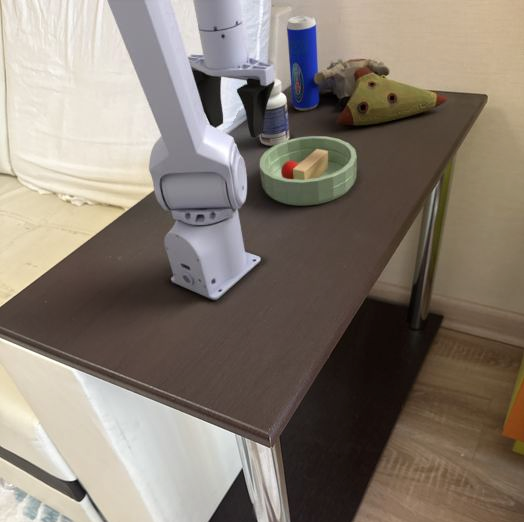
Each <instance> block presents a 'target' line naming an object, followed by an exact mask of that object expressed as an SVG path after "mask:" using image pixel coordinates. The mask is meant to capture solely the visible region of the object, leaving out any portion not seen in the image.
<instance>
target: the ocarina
mask: <svg viewBox="0 0 524 522" xmlns="http://www.w3.org/2000/svg"><path fill="white" fill-rule="evenodd" d="M354 78H355V89H354V92H353V94H352V96H351V98H350V100H349V101H348V103H347V105H346V107H345V109H342V111H341V113H340V114H339V116H338V118H337V119H336V122H337V124H339V125H345V126H372V125H377V124H382V123H386V122H390V121H391V122H392V121H396V120H399V119H402V118H407V117H410V116H414V115H418V114H421V113H424V112H426V111H430V110H433V109H435V108H437V107H439V106H441V105H443V104H444V103H446V101H447V100H448V97H447V96H445V95H442V94H439V93H435V92H433V91H431V90H427V89H424V88H421V87H416V86H413V85H410V84H408V83H407V84H406V83H403V82H400V81H396V80H392V79H389V78H387V76H384V75H382V76H378V75H376V74H375V73H373V72H372V71H370V70H369V69H368V68H365V67H363V68H359V69H357V70H356V71H355V73H354Z"/></svg>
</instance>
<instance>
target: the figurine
mask: <svg viewBox="0 0 524 522" xmlns="http://www.w3.org/2000/svg"><path fill="white" fill-rule="evenodd" d="M363 67H365V68H368V69H369V70H370V71H372V72H373V73H375V74H376V75H378V76H382V75H384V76H386V77H387V76H389V75H390V71H391V70H390V68H389V67H388V66H387V65H385V62H384V61H379V62H378V60H376V59H375V60H374V59H370V58H368V59H367V58H352V59H348V60H346V61H343V60H342V59H341V58H339V59H338V60H337V61H331V62H330V65H329V66H327V67H326V69H324V70H321V71H318V73H316V74H315V76H314V81H315V83H316V84H318V87H319V94H321V93H324V92H325V91H331V92H332V94H333V95H336V97H337V98H338V99H339V100H338V107H339V108H340V109H342V110H344V109H345V107H346V105H347V103H348V101H349V100H350V98H351V96H352V94H353V92H354V89H355V78H354V73H355V71H356V70H357V69H359V68H363Z"/></svg>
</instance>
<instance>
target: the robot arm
mask: <svg viewBox="0 0 524 522" xmlns="http://www.w3.org/2000/svg"><path fill="white" fill-rule="evenodd" d="M106 1H107V3H108V4H107V5H108V6H109V9H110V11H111V13H112V16H113V18H114V21H115V23H116V26H117V28H118V31H119V34H120V36H121V39H122V41H123V43H124V46H125V48H126V51H127V54H128V56H129V58H130V61H131V63H132V66H133V68H134V71H135V74H136V76H137V78H138V81H139V83H140V85H141V88H142V91H143V93H144V96H145V98H146V101H147V103H148V106H149V108H150V111H151V113H152V116H153V118H154V121H155V123H156V126H157V129H158V130H159V134H160V136H159V137H158V139H157V140H156V142H155V143H154V144H153V146H152V149H151V152H150V156H149V162H148V171H149V174H150V176H151V181H152V185H153V186H152V187H153V191H154V195H155V199H156V201H157V202H158V204H159V205H160V206H161V207H162V209H163V210H164V211H166V212H170V213H171V216H172V219H173V220H175V222H174V224H173V226H172V227H171V228H170V230H169V231H168V232H167V233H166V234H165V235H164V239H163V243H164V244H163V246H164V249H165V252H166V255H167V259H168V262H169V265H170V270H171V272H172V276H171V278H170V280H171V283H173V284H176V285H178V286H180V287H182V288H185V289H187V290H190V291H191V292H195V294H196V293H197V294H199V295H201V296H203V297H206V298H208V299H210V300H213V301H216V300H218V299H219V298H221V297H222V296H223V295H224V294H225V293H226V292H228V291H229V290H230V289H231V288H232V287H233V286H234V285H235V284H237V283H238V282H239V281H240V280H241V279H242V278H243V277H244V276H245V275H246V274H248V273H249V272H250V271H252V269H254V267H255V266H257V265H258V264H259V263H260V262H261V261H262V260H261V256H258V255H255V254H252V253H250V252H247V251H246V250H245V249H246V248H245V243H244V238H243V232H242V226H241V222H240V213H239V210H240V209H241V208H242V206H243V205H244V204H245V202H246V199H247V195H248V177H247V167H246V162H245V159H244V157H243V156H242V155H241V153H240V151H239V149H238V146H237V143H235V138H234V137H233V136H232V135H230V134H228V133H227V132H224V131H223V130H221V129H218V128H219V127H220V126H221V125H223V124H224V113H223V111H224V110H223V104H222V103H223V102H222V78H227V79H233V80H240V81H246V83H245V84H243V85H242V86H240V87H238V88H236V93H237V95H238V97H239V98H240V101H241V103H242V106H243V109H244V112H245V116H246V121H247V128H248V131H249V135H250V137H251V138H255V139H256V138H257V137H259V135H260V134H261V133H263V128H264V119H265V113H266V108H267V104H268V100H269V97H270V94H271V91H272V89H273V87H274V84H275V79H276V74H275V65H274V64H271V63H267V62H263V61H261V60H259V59H256V58H254V57H251V56H250V52H248V51H247V46H246V38H245V31H244V30H245V29H244V22H243V14H242V7H241V6H242V5H241V0H192V1H193V6H194V12H195V19H196V22H197V28H198V34H199V39H200V45H201V52H202V54H189V55H188V53H187V49H186V47H185V44H184V39H183V36H182V33H181V30H180V25H179V23H178V20H177V15H176V13H175V9H174V7H173V2H172V0H106Z"/></svg>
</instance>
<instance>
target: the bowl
mask: <svg viewBox="0 0 524 522" xmlns="http://www.w3.org/2000/svg"><path fill="white" fill-rule="evenodd" d="M316 149H320V150H325V151H328V170H327V171H325V172H324V173H323V174H322V175H321V176H320V177H319V178H314V179H304V180H297V179H287V178H283V176H282V173H281V169H282V166H283V165H284V164H285V163H286V162H288V161H294V162H296V163H298V164H300V163H301V162H302V161H303V160H304V159H306V158H307V157H308V156H309V155H310V154H312V153H313V152H314V151H315V150H316ZM357 159H358V157H357V152H356V149H355V148H354V146H352V144H351V143H349V142H347V141H344V140H343V139H340V138H335V137H331V136H324V135H321V136H319V135H310V136H300V137H296V138H291V139H288V140H287V141H284V142H282V143H279V144H277V145H274V146H271V147H270V148H269V149H267V150H266V151H264V153H263V154H262V156H261V157H260V159H259V172H260V173H259V174H260V181H261V187H262V189H263V190H264V191H265V193H266V194H267V195H268V196H269V197H270V198H272V199H273V200H274V201H277V202H279V203H281V204H286V205H289V206H302V207H303V206H314V205H321V204H325V203H329V202H331V201H334V200H336V199H338V198H340V197H342V196H343V195H346V194H347V193H348V192H349V191H350V189H351V188H352V187H353V185H354V184H355V182H356V179H357V178H358V177H357V175H358V174H357V173H358V172H357V167H358V165H357V163H358V162H357V161H358V160H357Z"/></svg>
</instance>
